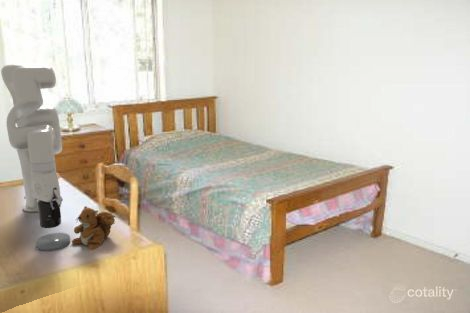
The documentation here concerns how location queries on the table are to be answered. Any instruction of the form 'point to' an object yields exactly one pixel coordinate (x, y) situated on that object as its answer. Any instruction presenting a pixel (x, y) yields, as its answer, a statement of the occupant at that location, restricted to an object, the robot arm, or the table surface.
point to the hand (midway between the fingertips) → (50, 216)
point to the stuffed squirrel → (93, 227)
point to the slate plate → (52, 241)
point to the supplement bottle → (46, 215)
